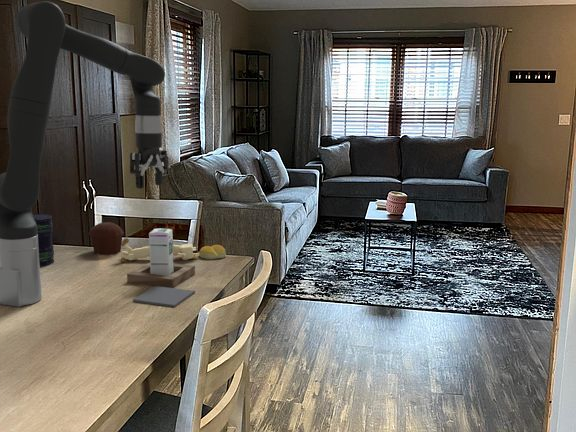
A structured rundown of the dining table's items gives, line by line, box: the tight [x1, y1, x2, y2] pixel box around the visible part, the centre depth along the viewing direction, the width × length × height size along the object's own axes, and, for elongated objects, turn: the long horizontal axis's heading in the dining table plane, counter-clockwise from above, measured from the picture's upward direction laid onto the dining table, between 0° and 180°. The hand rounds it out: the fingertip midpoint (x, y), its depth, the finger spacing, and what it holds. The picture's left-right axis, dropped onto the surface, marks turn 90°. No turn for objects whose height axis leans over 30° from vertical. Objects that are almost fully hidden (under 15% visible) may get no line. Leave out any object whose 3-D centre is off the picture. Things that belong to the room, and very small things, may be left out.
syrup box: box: [148, 227, 175, 276], centre depth 170 cm, size 6×6×14 cm
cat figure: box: [120, 237, 200, 263], centre depth 190 cm, size 10×9×25 cm
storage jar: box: [32, 213, 55, 268], centre depth 182 cm, size 10×10×15 cm
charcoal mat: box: [132, 286, 196, 308], centre depth 155 cm, size 12×12×1 cm
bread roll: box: [198, 244, 227, 260], centre depth 196 cm, size 8×9×4 cm
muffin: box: [88, 221, 125, 256], centre depth 198 cm, size 12×11×10 cm
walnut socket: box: [126, 262, 196, 288], centre depth 171 cm, size 14×14×2 cm
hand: (149, 186), depth 171 cm, fingers open, 8 cm apart
